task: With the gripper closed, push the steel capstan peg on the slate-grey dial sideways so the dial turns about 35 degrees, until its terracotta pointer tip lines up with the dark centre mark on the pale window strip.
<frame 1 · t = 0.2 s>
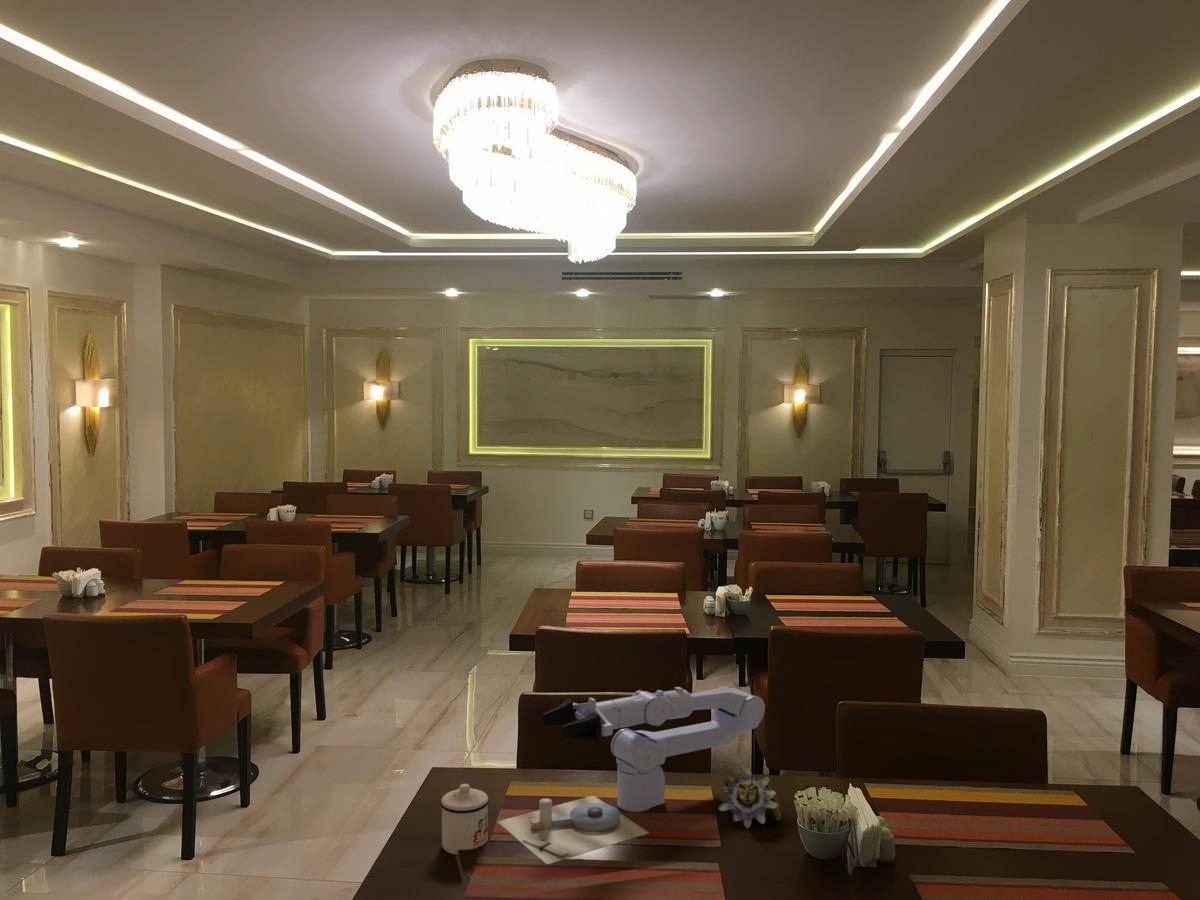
hand: (552, 725, 185), 21 cm above the table, tool horizontal, fingers open, 7 cm apart
teacup with lid: (467, 842, 183), on the table
passion flower: (749, 820, 192), on the table
cream flat board: (595, 826, 189), on the table
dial: (576, 809, 188), point 4 cm above the table, hinge at -35.0°
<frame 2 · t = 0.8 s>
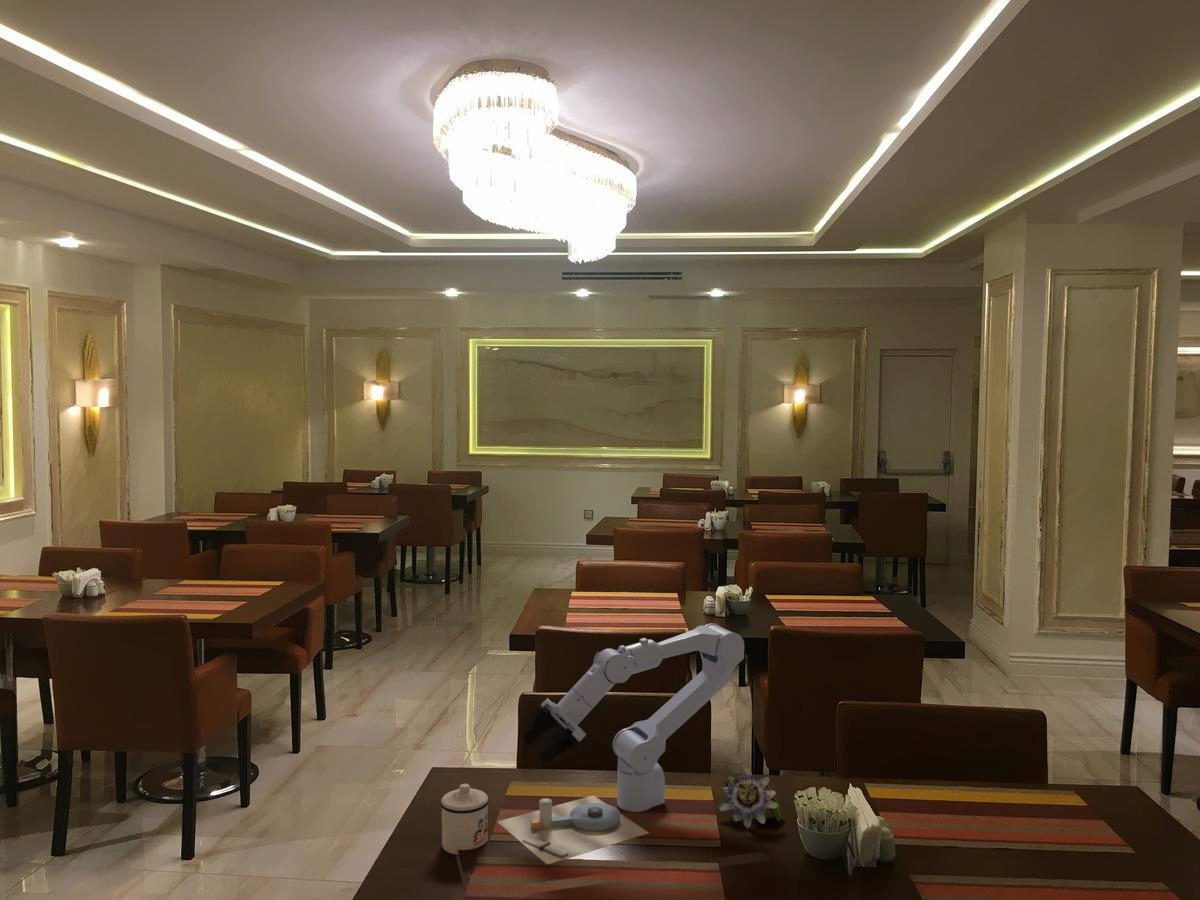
hand: (533, 750, 187), 16 cm above the table, tool tilted 50°, fingers open, 7 cm apart
nothing on the table moved.
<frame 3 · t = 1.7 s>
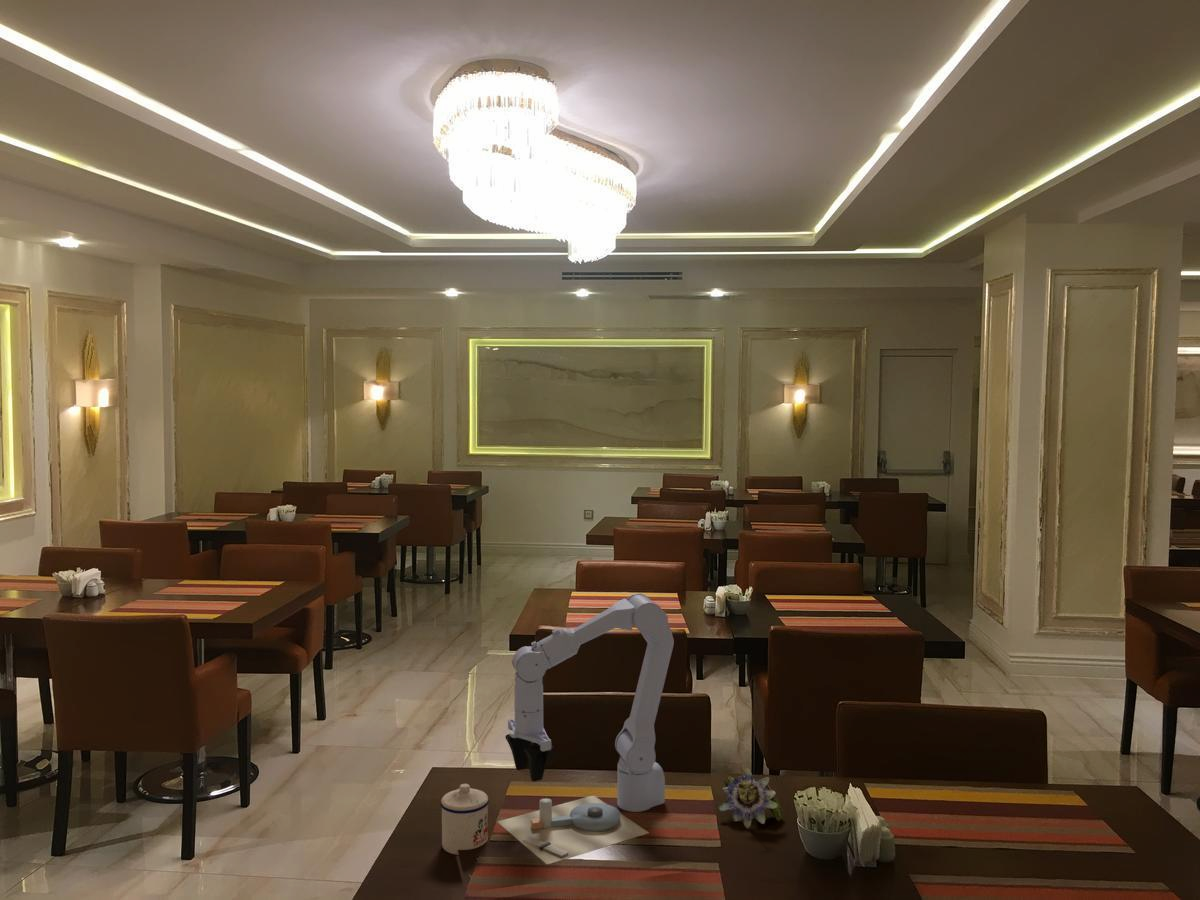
hand: (529, 774, 191), 9 cm above the table, tool pointing down, fingers open, 6 cm apart
nothing on the table moved.
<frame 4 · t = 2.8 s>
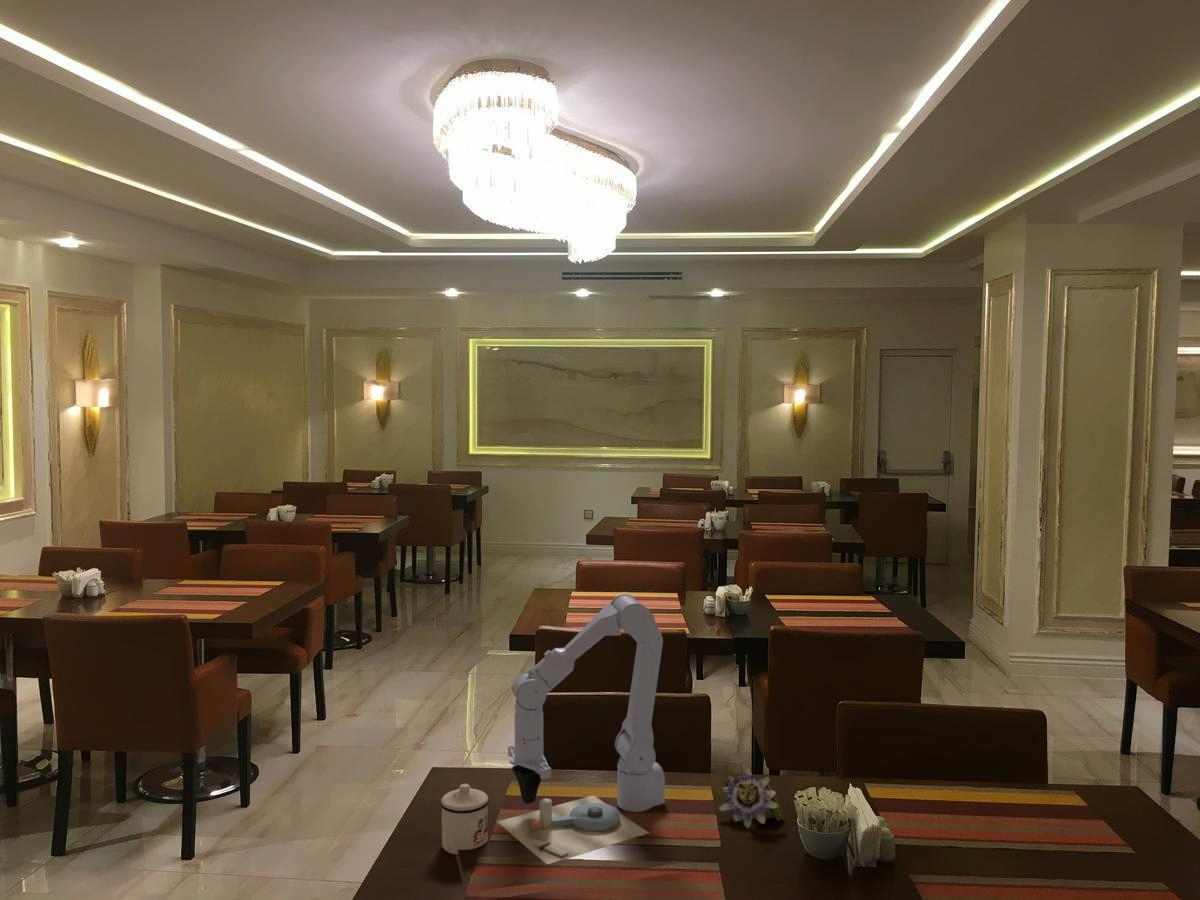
hand: (528, 801, 191), 4 cm above the table, tool pointing down, fingers closed
nothing on the table moved.
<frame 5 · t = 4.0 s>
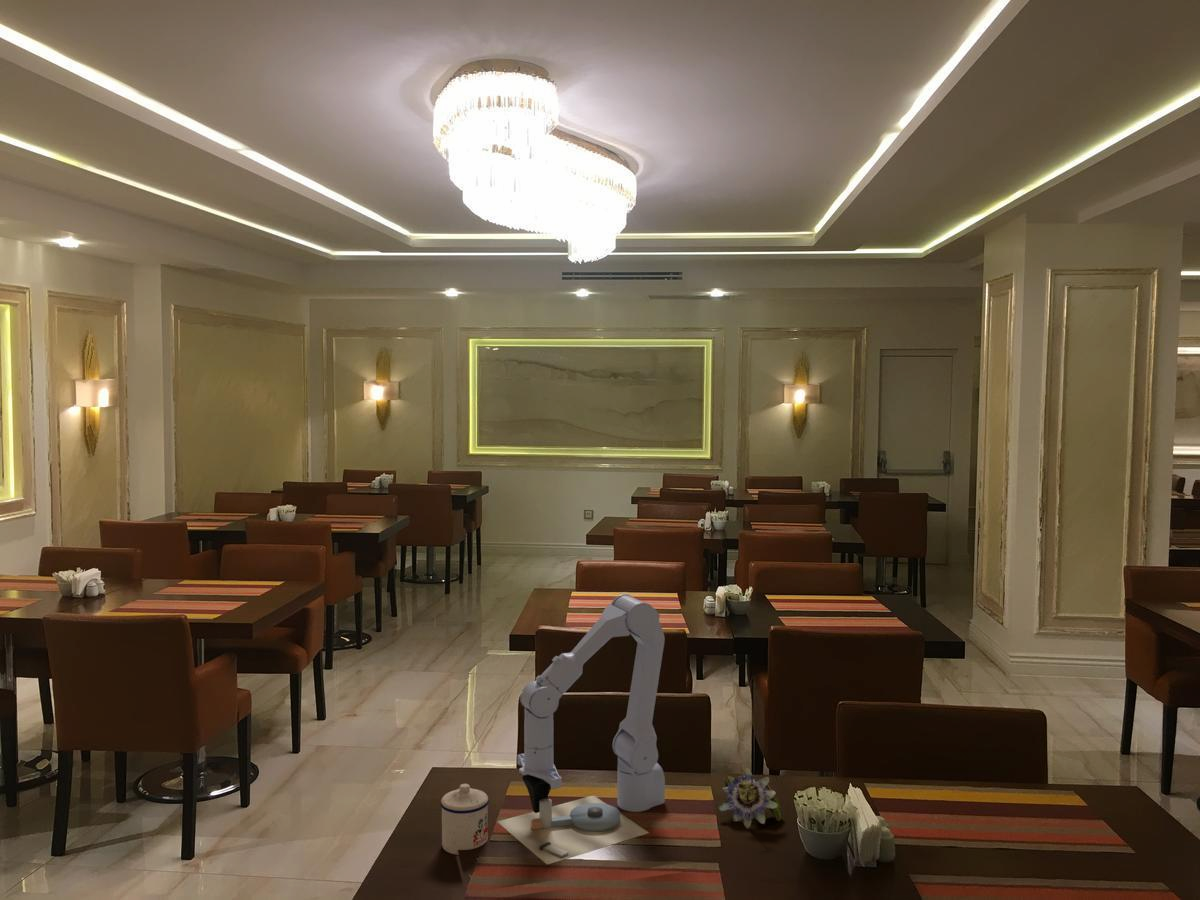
hand: (539, 811, 188), 3 cm above the table, tool pointing down, fingers closed, pressing on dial
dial: (576, 809, 188), point 4 cm above the table, hinge at -34.9°, touching gripper
everything else where it was.
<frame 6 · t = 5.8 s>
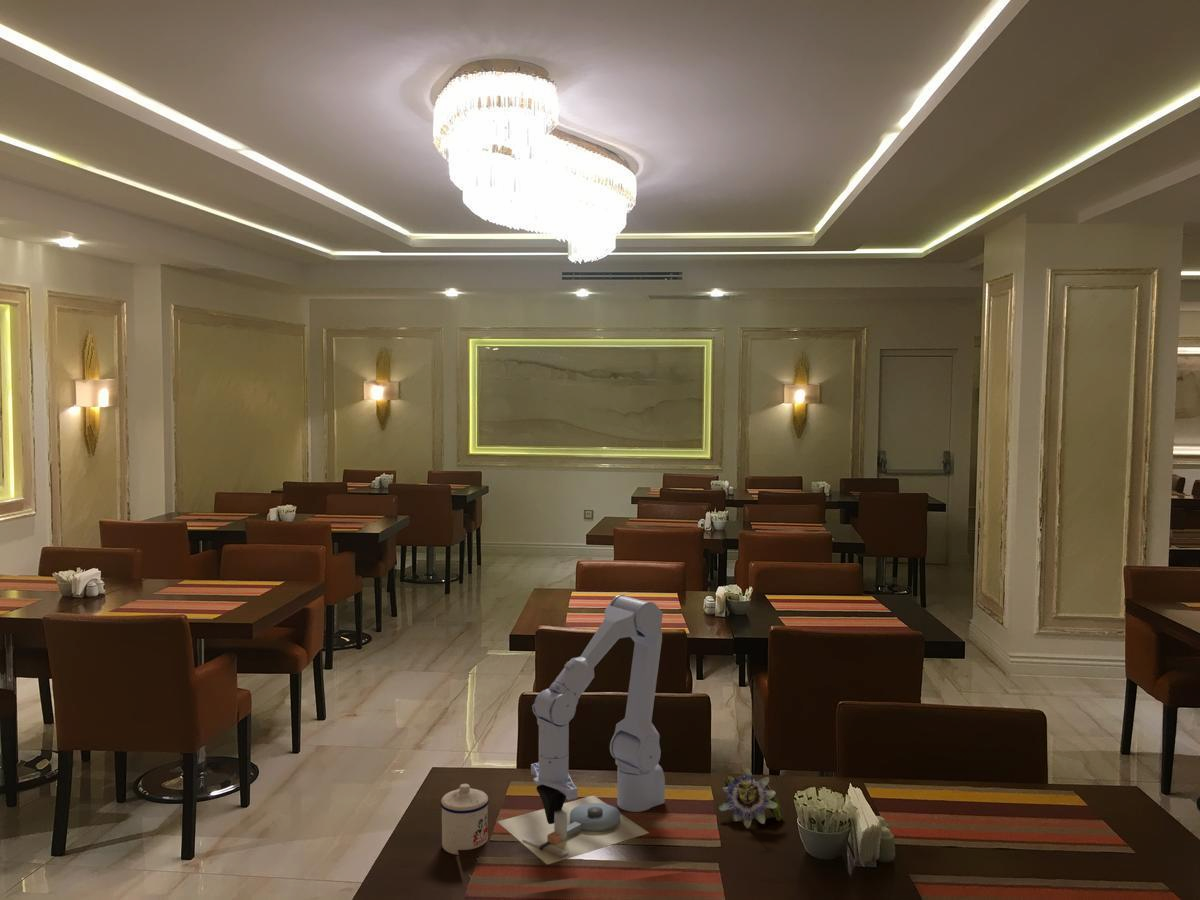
hand: (553, 822, 183), 4 cm above the table, tool pointing down, fingers closed
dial: (582, 814, 186), point 4 cm above the table, hinge at -0.9°, touching gripper
everything else where it was.
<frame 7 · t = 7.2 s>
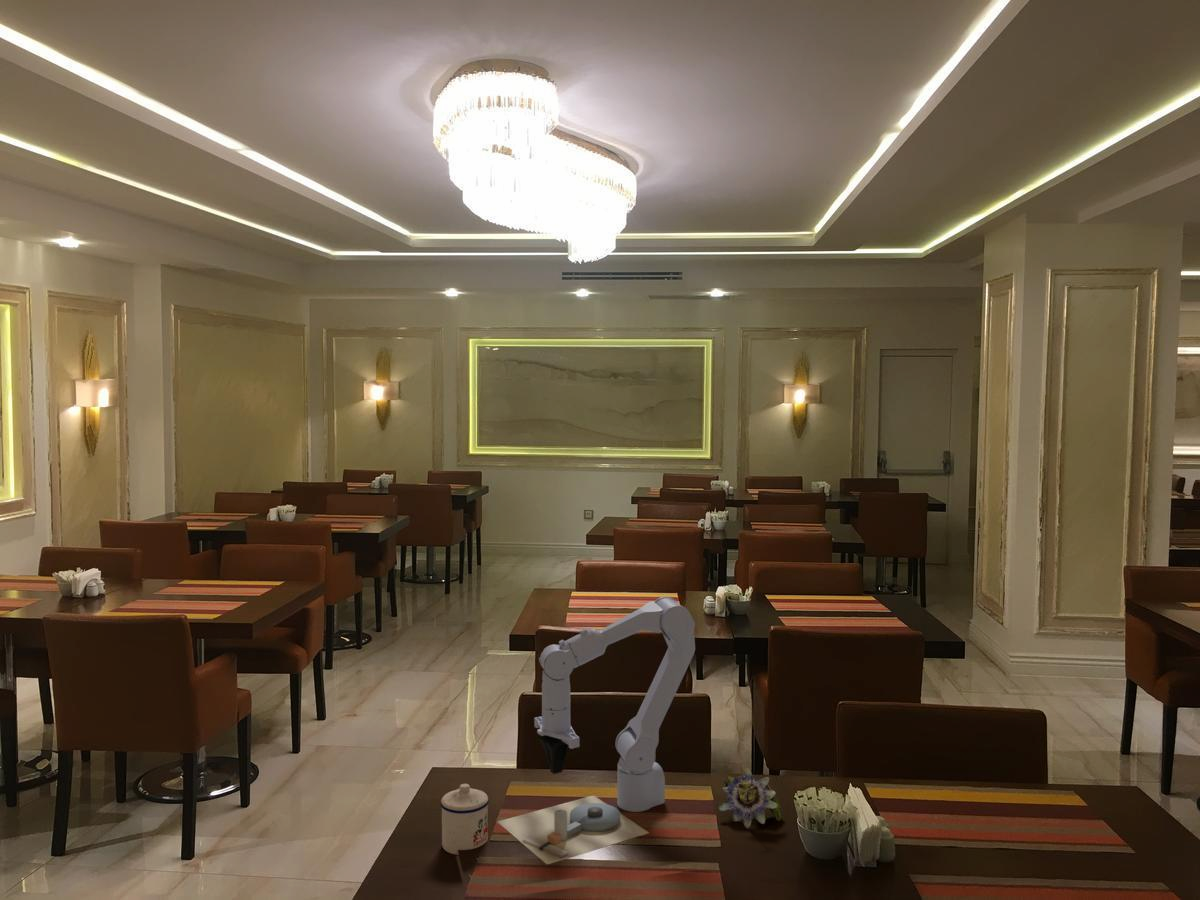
hand: (556, 771, 192), 9 cm above the table, tool pointing down, fingers closed
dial: (582, 814, 186), point 4 cm above the table, hinge at -0.8°
everything else where it was.
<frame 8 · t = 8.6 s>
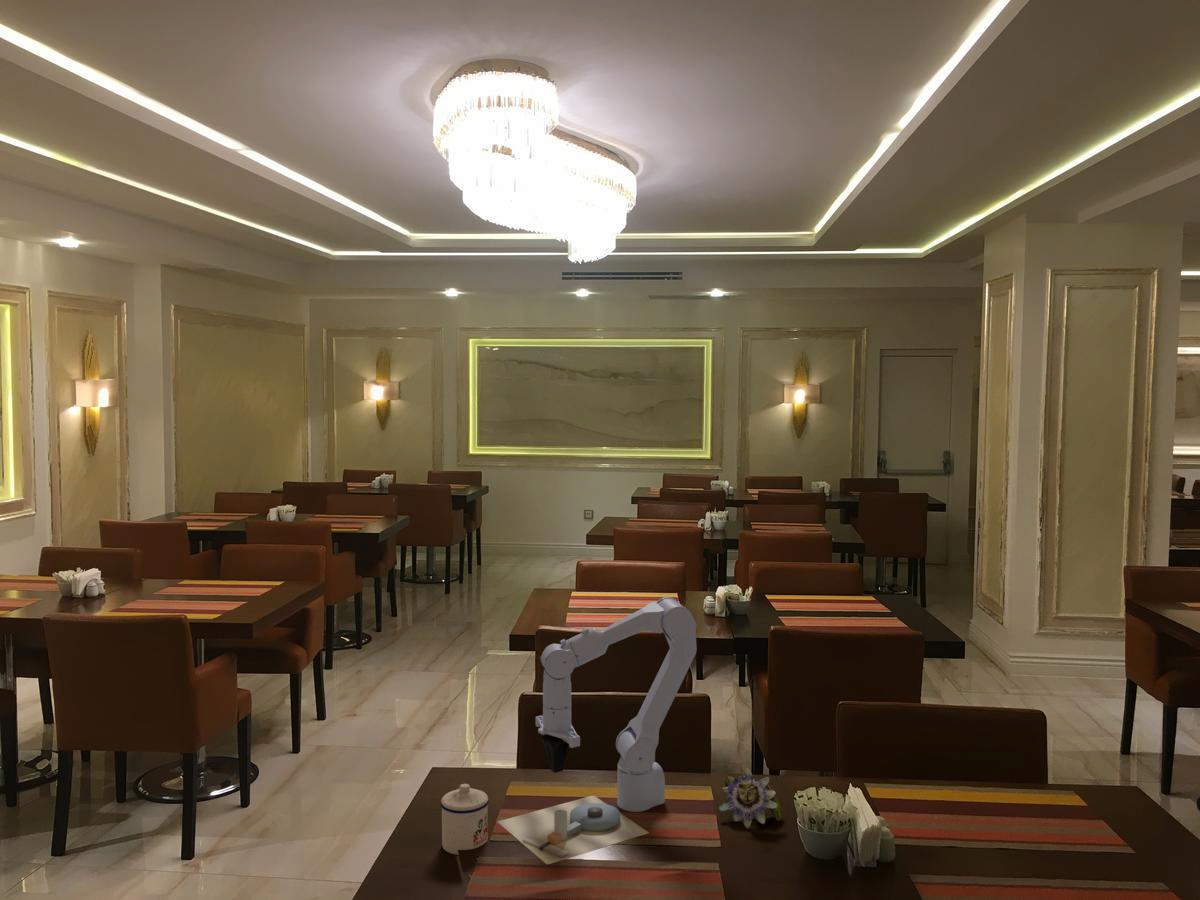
hand: (557, 770, 193), 9 cm above the table, tool pointing down, fingers closed
nothing on the table moved.
at the end: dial at -1° (first picture: -35°); teacup with lid moved 0.2 cm from its start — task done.
